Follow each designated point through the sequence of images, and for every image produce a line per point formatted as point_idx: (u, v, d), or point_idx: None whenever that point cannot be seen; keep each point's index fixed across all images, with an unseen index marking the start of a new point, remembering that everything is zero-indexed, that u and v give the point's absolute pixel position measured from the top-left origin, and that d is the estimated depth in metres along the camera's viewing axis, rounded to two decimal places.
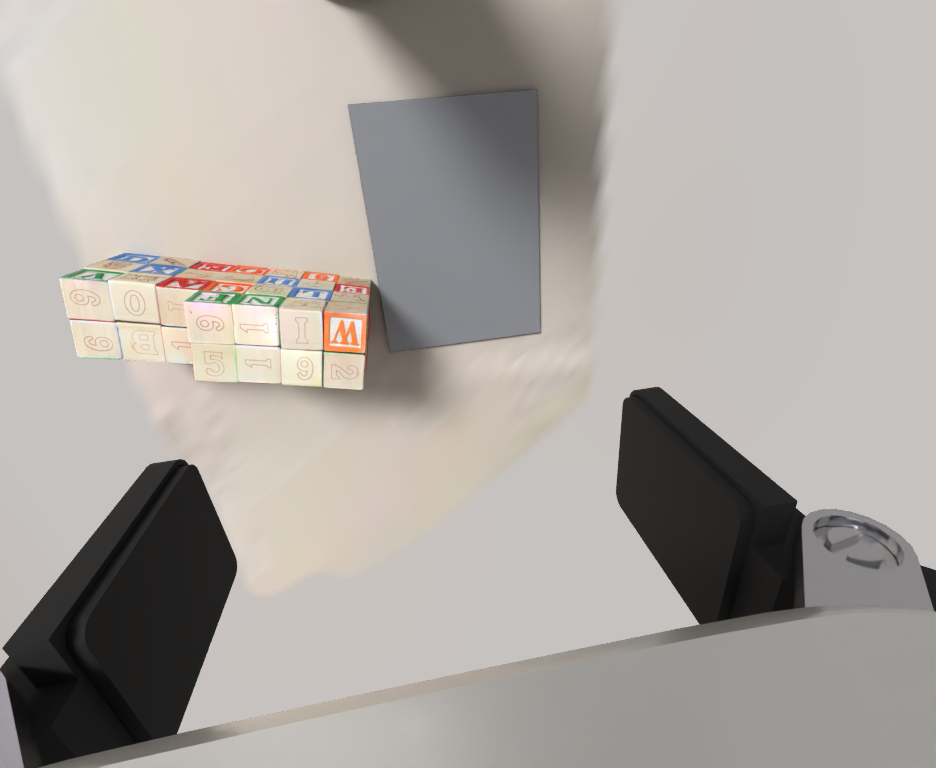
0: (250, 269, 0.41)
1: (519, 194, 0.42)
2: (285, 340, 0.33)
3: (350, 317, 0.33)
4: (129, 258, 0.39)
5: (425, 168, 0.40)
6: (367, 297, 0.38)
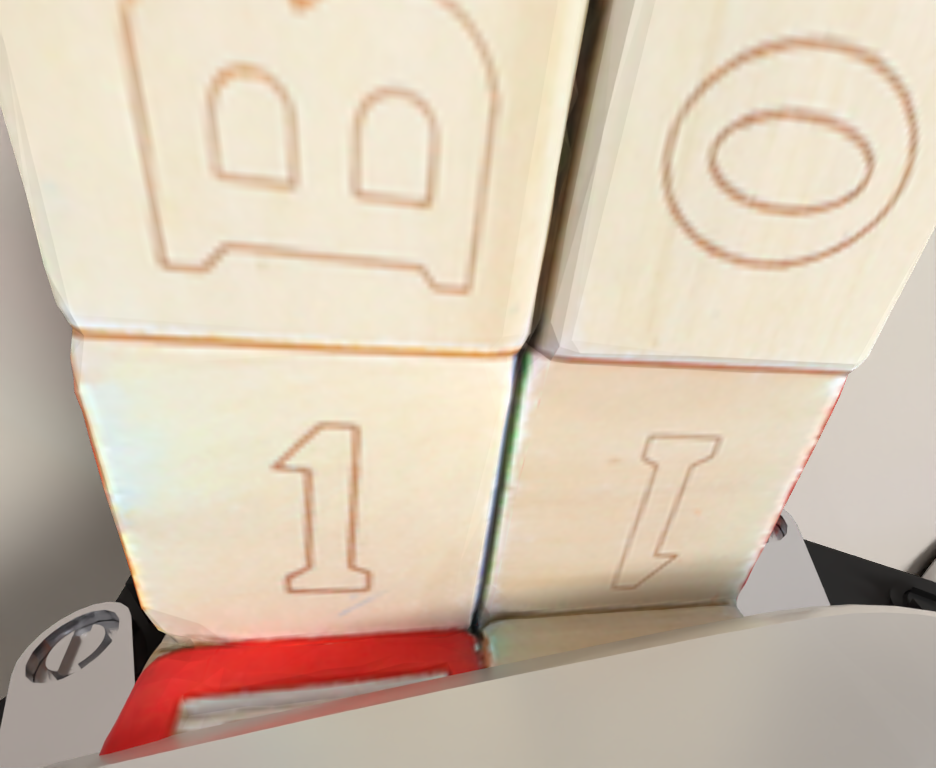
0: None
1: None
2: None
3: None
4: None
5: None
6: None
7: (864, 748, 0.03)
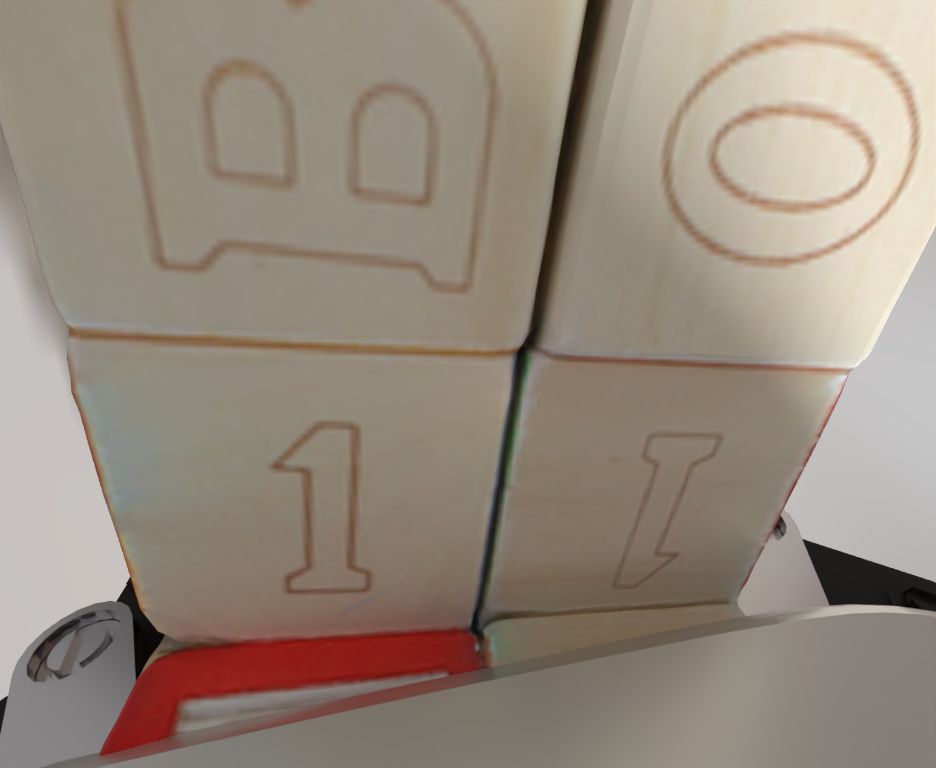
0: None
1: None
2: None
3: None
4: None
5: None
6: None
7: (864, 748, 0.03)
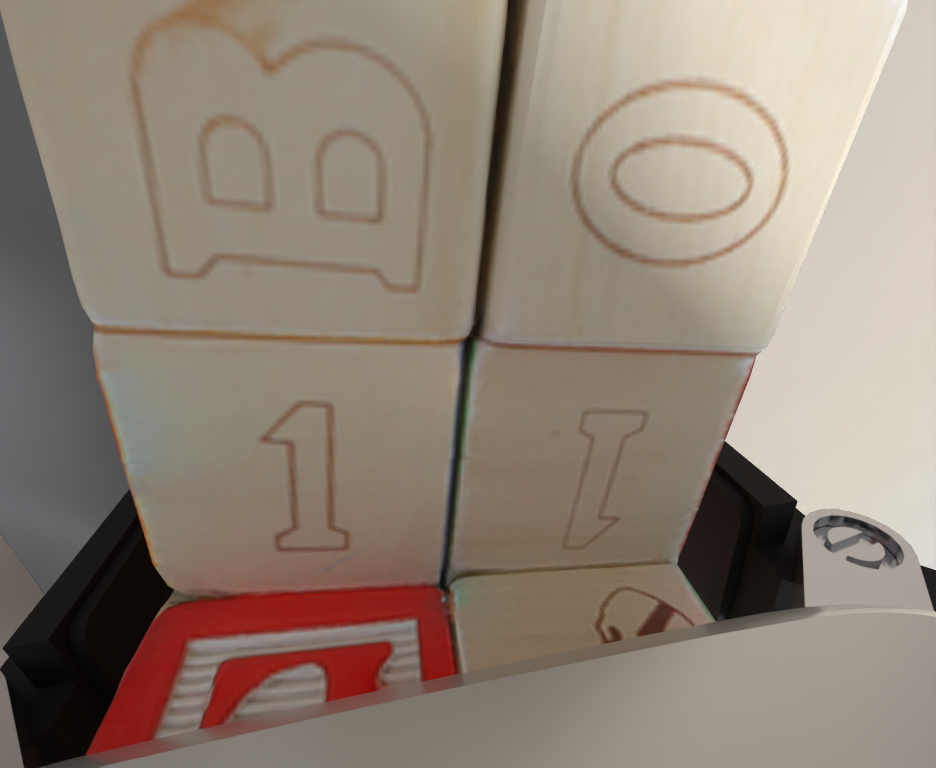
0: None
1: (59, 518, 0.14)
2: None
3: None
4: None
5: None
6: None
7: (864, 748, 0.03)
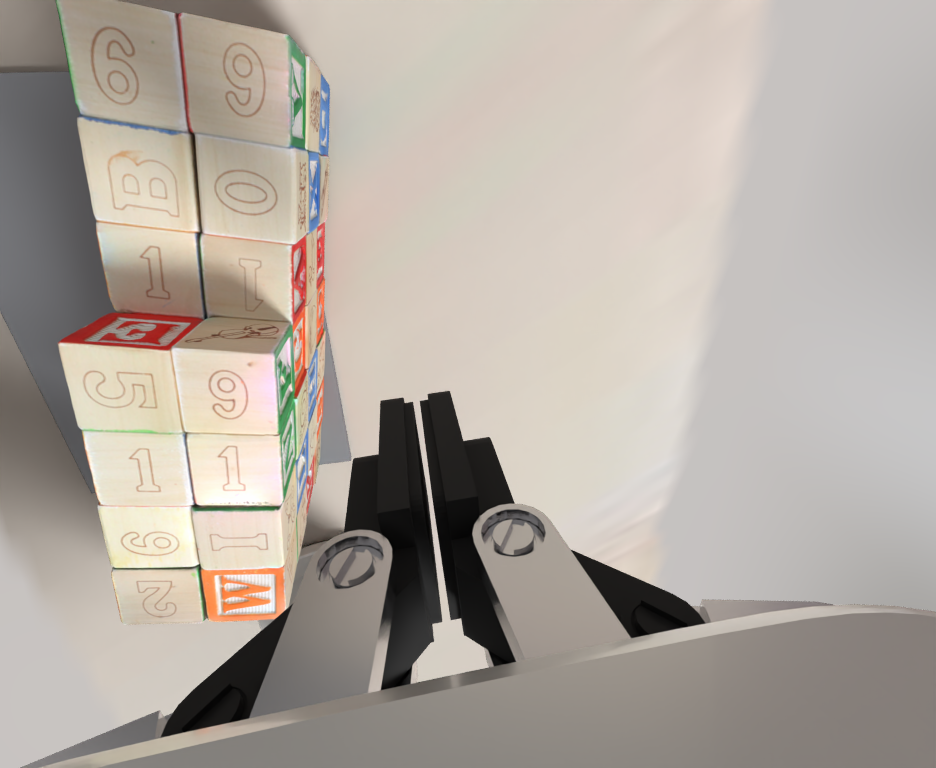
0: (320, 303, 0.25)
1: None
2: (213, 519, 0.17)
3: (276, 599, 0.19)
4: (323, 108, 0.20)
5: None
6: None
7: (864, 748, 0.03)
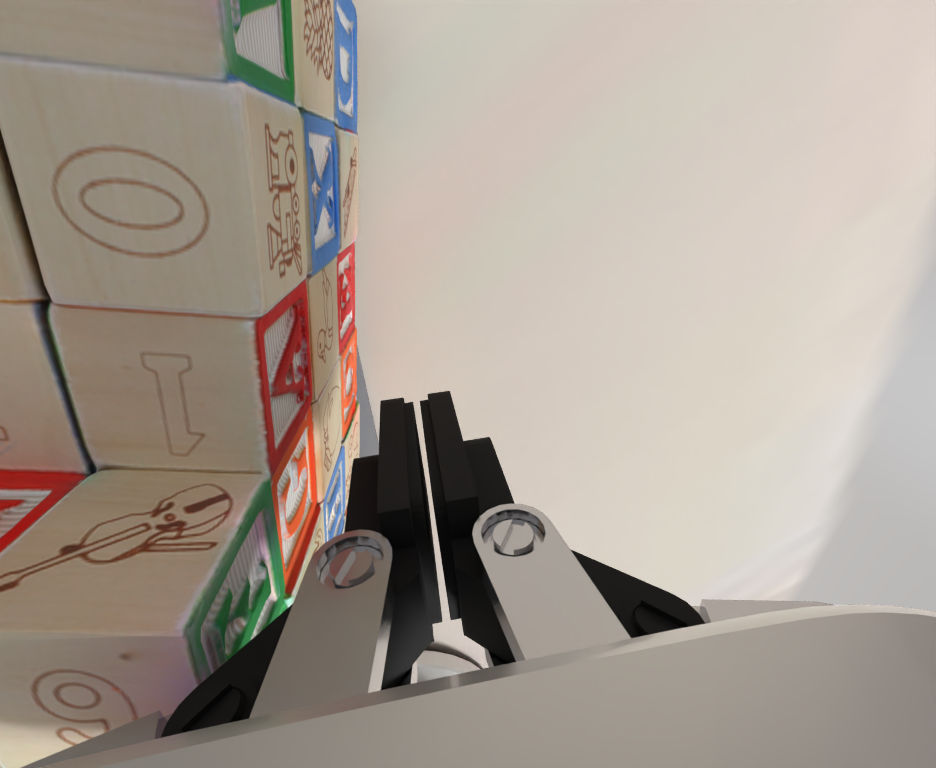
0: (350, 368, 0.16)
1: None
2: None
3: None
4: (344, 43, 0.11)
5: None
6: None
7: (864, 748, 0.03)
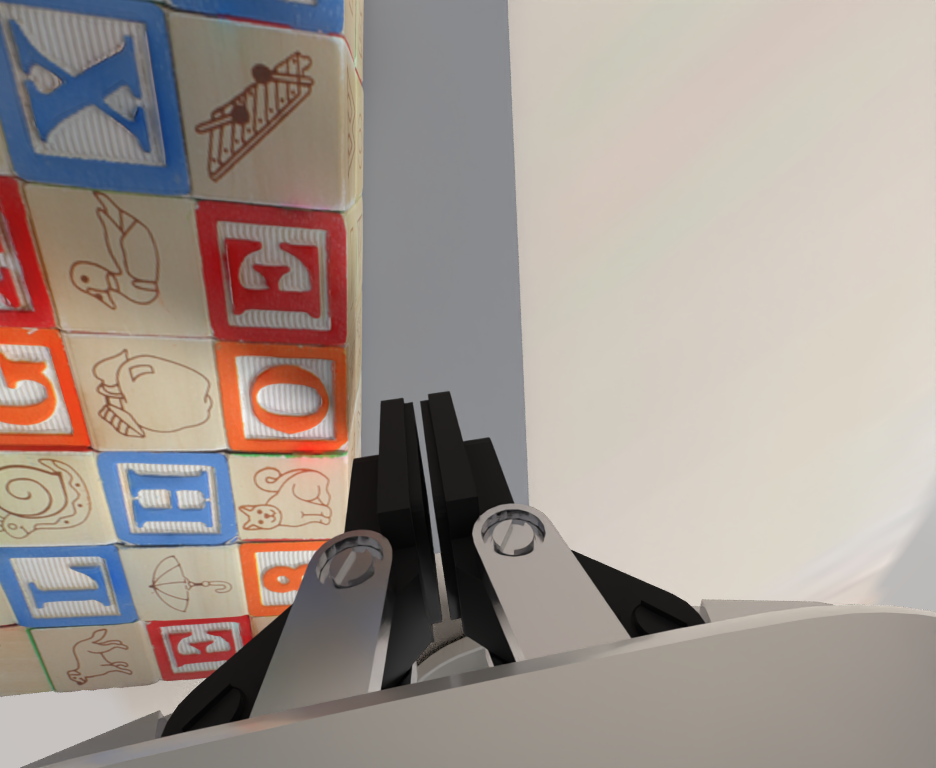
0: (314, 393, 0.11)
1: None
2: None
3: None
4: None
5: None
6: (120, 685, 0.15)
7: (864, 748, 0.03)
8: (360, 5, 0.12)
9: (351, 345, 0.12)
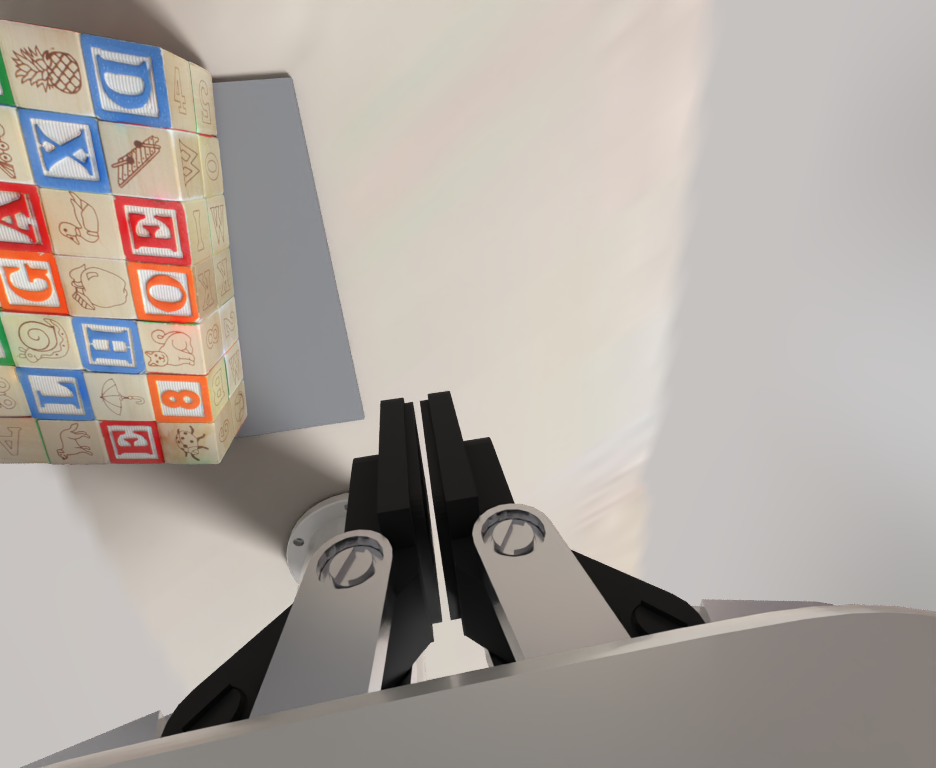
0: (178, 290, 0.23)
1: None
2: None
3: None
4: (120, 72, 0.19)
5: (267, 367, 0.32)
6: (86, 462, 0.27)
7: (864, 748, 0.03)
8: (204, 101, 0.24)
9: (201, 269, 0.24)
